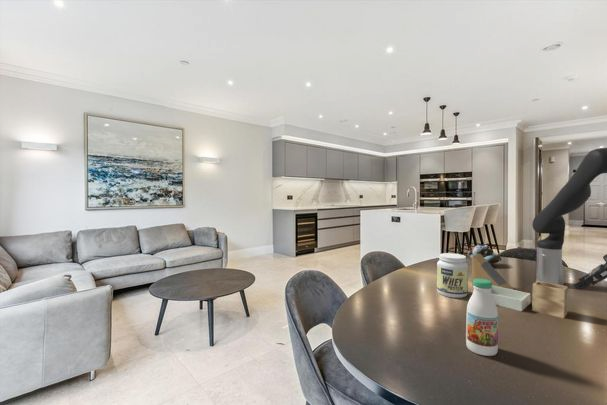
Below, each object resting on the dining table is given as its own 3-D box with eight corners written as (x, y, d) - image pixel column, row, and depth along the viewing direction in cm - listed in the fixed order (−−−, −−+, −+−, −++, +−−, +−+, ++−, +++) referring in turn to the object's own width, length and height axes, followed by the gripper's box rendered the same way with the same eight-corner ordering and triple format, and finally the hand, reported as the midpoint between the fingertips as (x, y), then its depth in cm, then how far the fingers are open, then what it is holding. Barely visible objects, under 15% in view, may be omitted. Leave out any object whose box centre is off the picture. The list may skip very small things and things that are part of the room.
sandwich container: (510, 296, 126) (510, 261, 125) (471, 287, 138) (472, 255, 137) (517, 292, 131) (517, 258, 130) (479, 283, 143) (479, 253, 142)
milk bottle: (460, 343, 88) (461, 276, 87) (484, 341, 89) (485, 275, 88) (477, 357, 80) (478, 285, 80) (504, 356, 81) (505, 284, 80)
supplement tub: (437, 296, 126) (438, 257, 125) (435, 287, 137) (435, 251, 137) (470, 300, 122) (470, 259, 121) (465, 290, 133) (465, 253, 132)
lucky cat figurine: (481, 268, 169) (469, 245, 174) (472, 271, 180) (461, 249, 185) (506, 260, 169) (494, 238, 174) (496, 264, 180) (484, 242, 185)
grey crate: (530, 303, 117) (530, 293, 117) (521, 311, 110) (521, 300, 110) (489, 293, 129) (489, 284, 128) (478, 300, 121) (478, 290, 121)
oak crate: (567, 313, 108) (567, 286, 107) (563, 318, 104) (564, 290, 104) (536, 306, 115) (536, 280, 114) (532, 310, 111) (532, 284, 110)
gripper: (618, 245, 100) (572, 271, 109) (614, 251, 91) (564, 279, 100) (641, 263, 96) (591, 289, 106) (640, 272, 87) (585, 299, 96)
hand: (578, 284), depth 103 cm, fingers open, 8 cm apart
